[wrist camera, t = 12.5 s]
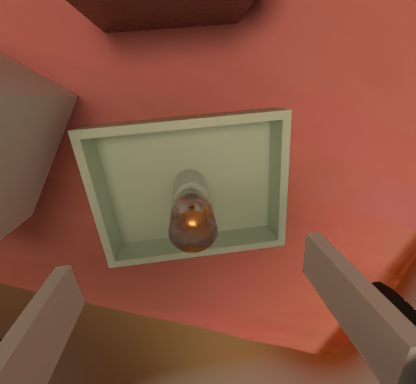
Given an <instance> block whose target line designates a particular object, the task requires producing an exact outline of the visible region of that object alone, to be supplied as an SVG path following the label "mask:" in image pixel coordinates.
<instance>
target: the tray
mask: <svg viewBox="0 0 416 384" xmlns="http://www.w3.org/2000/svg"><path fill="white" fill-rule="evenodd" d="M291 114H292V109H282V108H268V109H257V110H246V111H236V112H225V113H215V114H204V115H194V116H183V117H172V118H162V119H151V120H141V121H130V122H120V123H109V124H98V125H88V126H83V127H79V128H76V129H72V130H69V131H68V135H69V138H70V141H71V144H72V148H73V151H74V154H75V158H76V161H77V164H78V168H79V171H80V174H81V177H82V181H83V184H84V187H85V191H86V194H87V197H88V200H89V204H90V207H91V210H92V214H93V217H94V220H95V223H96V227H97V230H98V233H99V237H100V240H101V243H102V246H103V250H104V253H105V256H106V260H107V263H108V266H109V268H115V267H123V266H131V265H138V264H146V263H154V262H161V261H169V260H177V259H184V258H192V257H200V256H207V255H215V254H223V253H231V252H238V251H246V250H254V249H261V248H269V247H277V246H284V245H285V234H286V214H287V194H288V174H289V154H290V134H291ZM188 169H193V170H196V171H198V172H200V173H201V174H202V175H203V176H204V178H205V181H206V185H207V188H208V192H209V196H210V200H211V204H212V208H213V212H214V216H215V220H216V224H217V228H218V234H217V238H216V240H215V242H214V243H213V244H212V245H211V246H210V247H209V248H208V249H206V250H204V251H201V252H197V253H187V252H183V251H181V250H179V249H177V248H176V247H175V246H174V245H173V244H172V243H171V241H170V239H169V234H168V232H169V222H170V213H171V204H172V196H173V187H174V180H175V178H176V176H177V175H178V174H179V173H180V172H182V171H184V170H188Z"/></svg>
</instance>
